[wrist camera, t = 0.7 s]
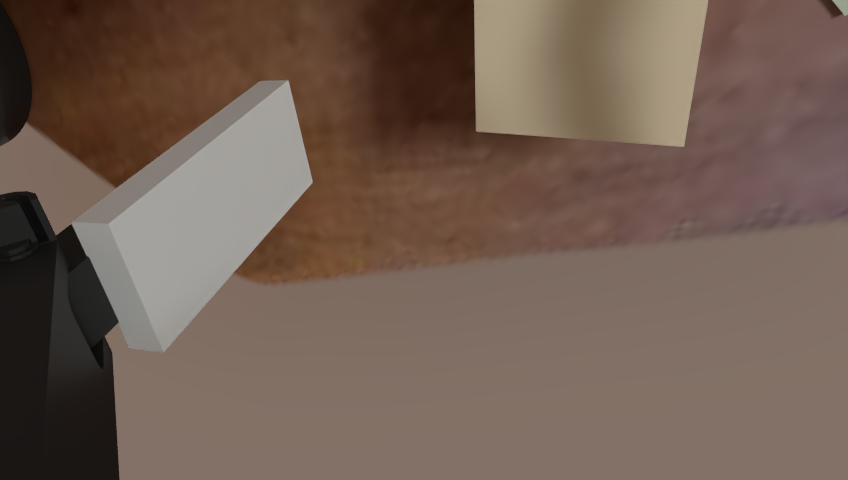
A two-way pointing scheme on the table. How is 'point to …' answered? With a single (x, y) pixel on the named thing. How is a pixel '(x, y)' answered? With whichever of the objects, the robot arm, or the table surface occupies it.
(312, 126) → the table surface
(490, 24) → the birch cube
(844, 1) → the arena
